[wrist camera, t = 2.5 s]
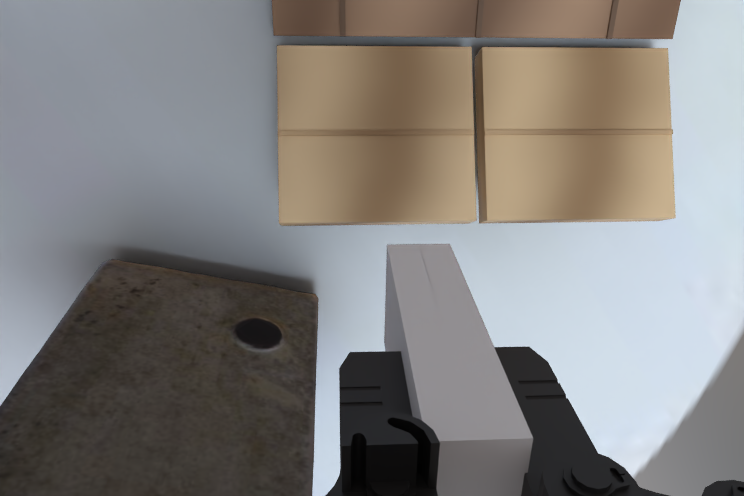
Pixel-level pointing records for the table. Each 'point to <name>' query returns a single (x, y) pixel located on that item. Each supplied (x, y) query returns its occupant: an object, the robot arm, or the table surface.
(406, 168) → the oak plank
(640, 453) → the table surface
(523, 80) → the oak plank
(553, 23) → the walnut row
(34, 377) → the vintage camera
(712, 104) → the table surface
